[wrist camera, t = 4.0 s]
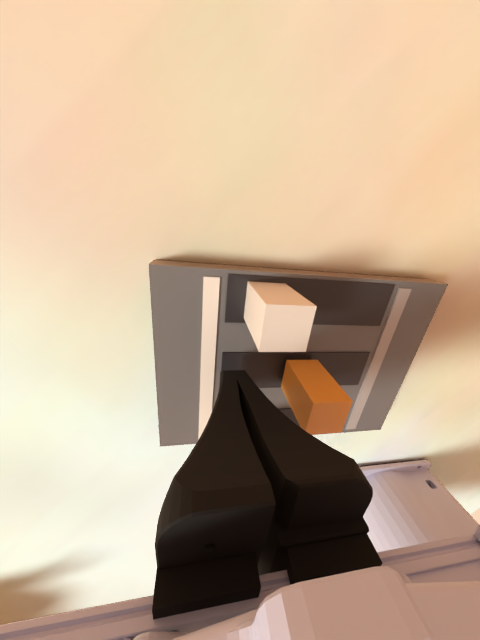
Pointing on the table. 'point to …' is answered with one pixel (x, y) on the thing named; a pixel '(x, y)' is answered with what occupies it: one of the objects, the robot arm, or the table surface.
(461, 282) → the table surface
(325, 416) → the breaker
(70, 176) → the table surface
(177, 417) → the panel
